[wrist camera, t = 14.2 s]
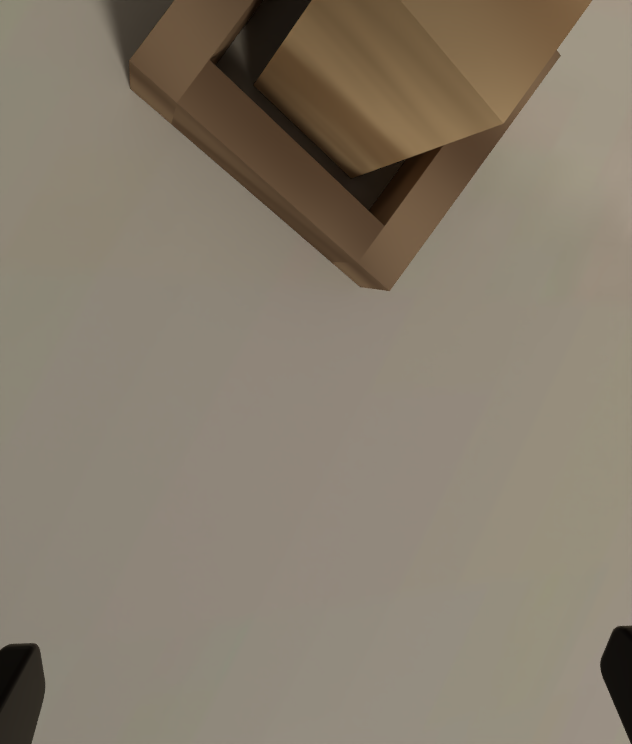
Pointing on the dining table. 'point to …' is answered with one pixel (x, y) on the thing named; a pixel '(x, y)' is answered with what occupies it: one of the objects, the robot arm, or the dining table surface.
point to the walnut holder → (298, 148)
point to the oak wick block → (409, 71)
